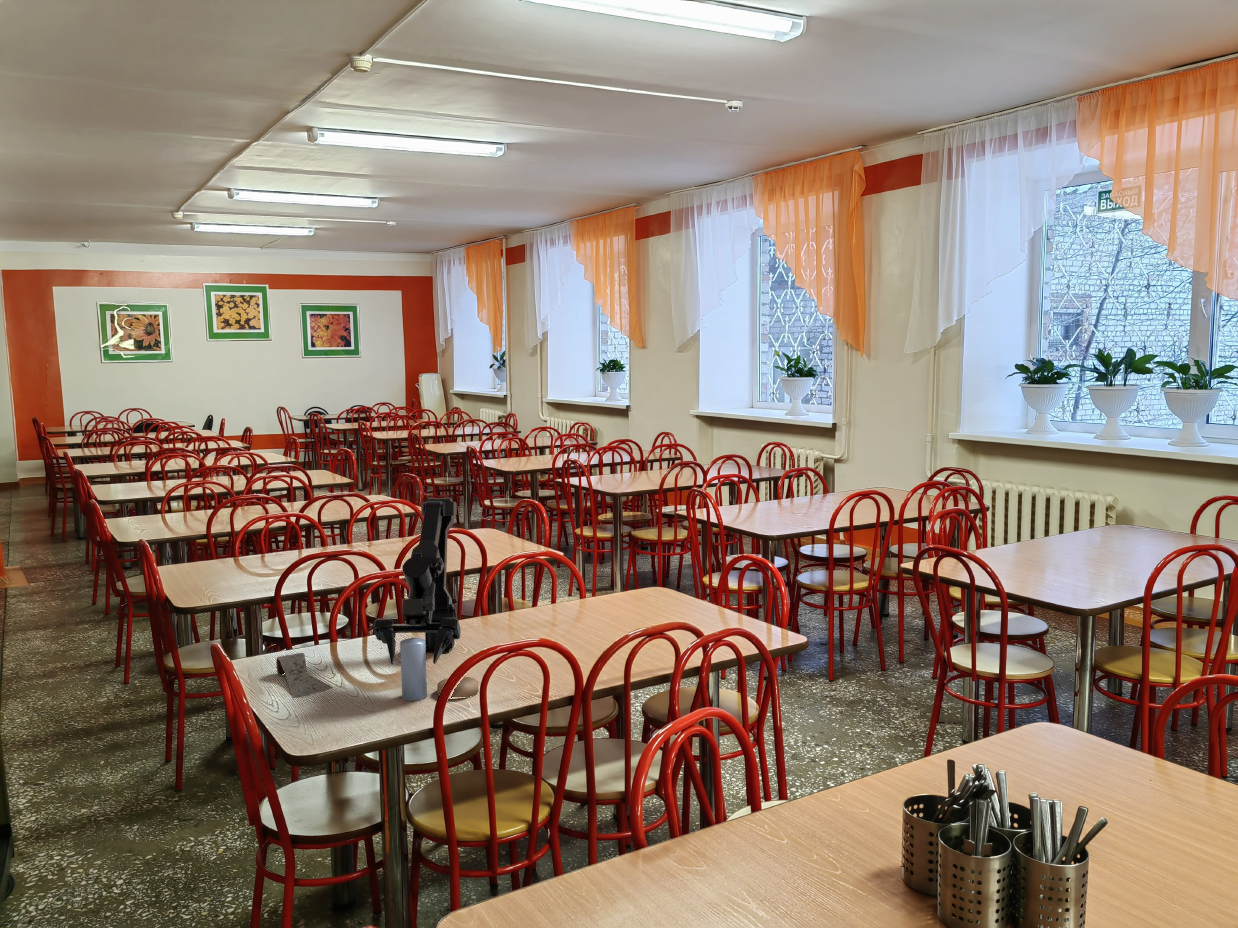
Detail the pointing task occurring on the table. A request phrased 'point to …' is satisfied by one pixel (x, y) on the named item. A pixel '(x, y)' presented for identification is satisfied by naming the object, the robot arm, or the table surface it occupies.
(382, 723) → the table surface
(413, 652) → the pale blue pillar candle
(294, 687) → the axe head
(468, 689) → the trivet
